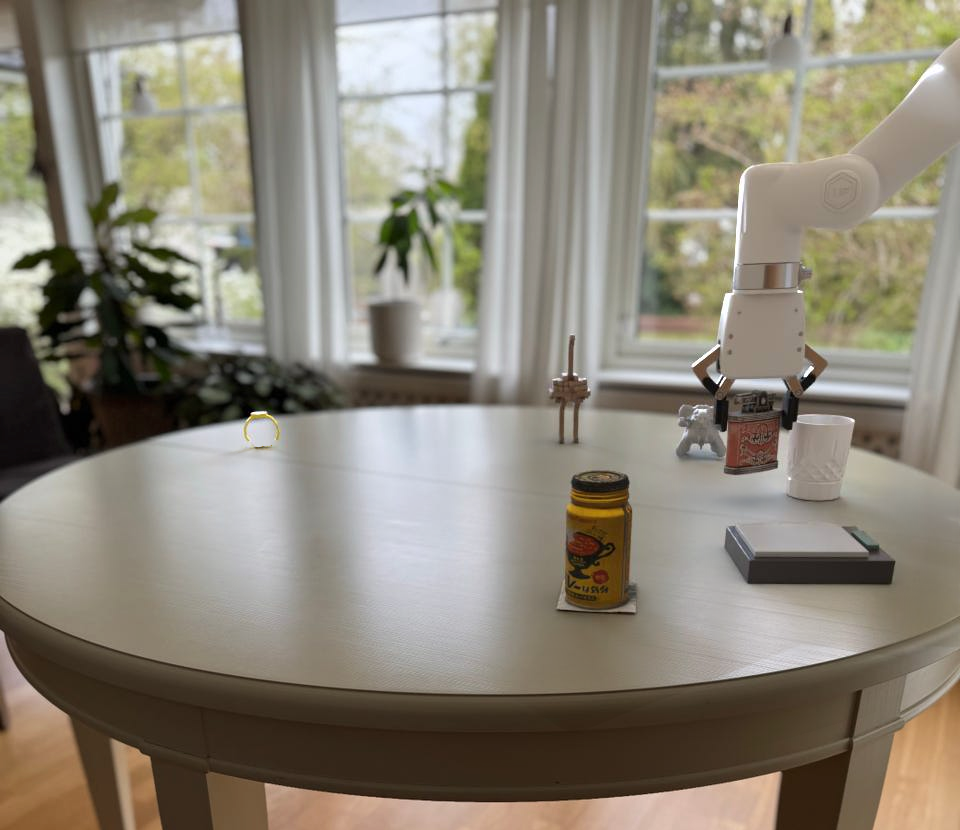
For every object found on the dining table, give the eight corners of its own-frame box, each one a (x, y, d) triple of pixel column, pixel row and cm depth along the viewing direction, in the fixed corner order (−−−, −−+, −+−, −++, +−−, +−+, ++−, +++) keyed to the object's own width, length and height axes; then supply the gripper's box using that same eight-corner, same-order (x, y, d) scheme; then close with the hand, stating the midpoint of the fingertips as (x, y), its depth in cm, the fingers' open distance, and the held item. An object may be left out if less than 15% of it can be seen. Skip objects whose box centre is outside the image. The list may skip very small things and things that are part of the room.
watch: (281, 444, 157) (277, 410, 155) (281, 447, 155) (277, 412, 152) (246, 446, 156) (242, 412, 154) (246, 449, 154) (241, 414, 151)
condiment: (556, 611, 82) (558, 483, 77) (564, 580, 90) (566, 462, 85) (635, 614, 81) (643, 485, 76) (636, 583, 88) (643, 464, 84)
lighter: (765, 463, 118) (772, 386, 114) (784, 468, 115) (791, 389, 111) (717, 471, 115) (722, 392, 111) (734, 476, 112) (740, 395, 108)
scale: (852, 546, 98) (856, 520, 97) (891, 584, 87) (896, 555, 86) (724, 546, 99) (726, 520, 98) (747, 583, 88) (750, 554, 87)
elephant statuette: (681, 462, 138) (684, 412, 135) (658, 447, 149) (661, 400, 146) (738, 460, 139) (743, 410, 136) (711, 445, 150) (715, 399, 147)
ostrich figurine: (589, 445, 152) (593, 335, 144) (550, 446, 152) (552, 335, 144) (578, 427, 167) (580, 327, 160) (542, 428, 167) (543, 327, 160)
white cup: (837, 505, 114) (849, 426, 110) (775, 498, 118) (784, 422, 114) (848, 491, 120) (859, 416, 116) (788, 485, 124) (797, 412, 120)
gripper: (830, 276, 109) (815, 422, 116) (687, 282, 110) (680, 426, 117) (850, 277, 102) (832, 432, 109) (697, 284, 103) (689, 436, 110)
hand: (753, 428), depth 113 cm, fingers closed on lighter, 7 cm apart
